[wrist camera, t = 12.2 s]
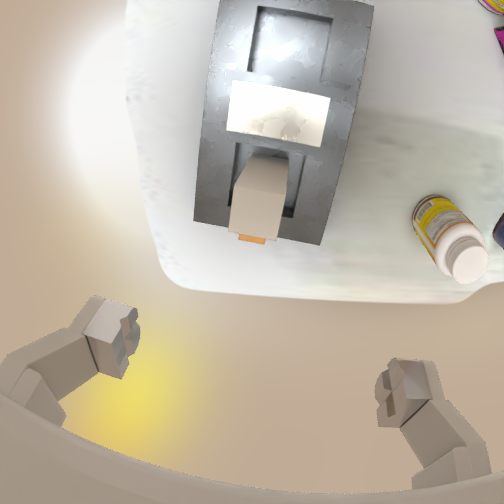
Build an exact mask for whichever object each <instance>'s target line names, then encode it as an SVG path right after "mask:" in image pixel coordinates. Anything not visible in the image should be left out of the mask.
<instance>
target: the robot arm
mask: <svg viewBox="0 0 504 504" xmlns="http://www.w3.org/2000/svg"><path fill="white" fill-rule="evenodd" d="M137 318H138V312H137V309H136V308H134V307H131V306H128V305H124V304H121V303H118V302H115V301H112V300H109V299H105V298H102V297H99V296H96V295H94V296H92V297H90V299H89V300H88V301H87V303H86V304H85V305H84V307H83V308H82V309H81V311H80V312H79V314H78V315H77V316H76V318H75V319H74V320H73V322H72V323H71V325H70V326H69V327H68V329H67V328H62V329H60V330H58V331H56V332H53V333H52V334H49V335H47V336H45V337H43V338H41V339H39V340H37V341H35V342H32V343H30V344H28V345H26V346H24V347H22V348H20V349H18V350H16V351H14V352H12V353H10V354H8V355H7V356H6V358H5V359H4V360H3V362H2V363H1V365H0V504H504V470H503V471H500V472H496V473H493V474H492V472H491V467H490V461H489V457H488V452H487V447H486V443H485V441H484V440H483V439H482V438H481V437H480V436H479V434H478V433H477V432H476V431H475V430H474V428H473V427H472V426H471V425H470V424H469V423H468V422H467V420H466V419H465V418H464V417H463V416H462V415H461V414H460V412H459V411H458V410H457V409H456V408H455V407H454V406H453V404H452V403H451V402H450V401H449V400H445V397H444V394H443V390H442V386H441V382H440V379H439V376H438V372H437V369H436V365H435V363H434V362H433V361H428V360H417V359H405V358H393V359H392V360H391V361H390V362H389V363H388V370H386V371H384V372H382V373H381V374H380V376H379V377H378V379H377V382H376V386H375V398H376V400H377V401H378V403H379V404H380V406H379V407H378V409H377V416H378V426H379V427H394V428H400V430H401V432H402V433H403V435H404V437H405V438H406V440H407V442H408V443H409V445H410V446H411V448H412V449H413V451H414V453H415V454H416V456H417V458H418V459H419V461H420V463H421V464H422V466H423V468H424V469H423V470H421V471H420V472H418V473H416V474H415V475H414V476H413V477H412V490H404V491H394V492H380V493H360V494H324V493H302V492H288V491H279V490H270V489H262V488H255V487H247V486H241V485H235V484H230V483H224V482H219V481H214V480H209V479H205V478H201V477H197V476H192V475H188V474H184V473H180V472H177V471H173V470H170V469H166V468H163V467H159V466H156V465H153V464H150V463H147V462H144V461H141V460H138V459H135V458H132V457H129V456H126V455H123V454H121V453H118V452H115V451H113V450H111V449H108V448H106V447H103V446H101V445H98V444H96V443H93V442H91V441H89V440H87V439H84V438H82V437H80V436H78V435H76V434H73V433H71V432H69V431H67V430H65V429H63V428H61V426H62V424H63V422H64V420H65V418H66V414H65V412H64V410H63V409H62V407H61V406H60V404H59V403H58V401H59V400H60V399H62V398H63V397H65V396H66V395H68V394H69V393H70V392H72V391H73V390H75V389H76V388H78V387H79V386H81V385H82V384H84V383H85V382H86V381H88V380H89V379H91V378H92V377H93V376H95V375H96V374H98V372H101V373H103V374H106V375H109V376H112V377H115V378H119V379H122V377H123V375H124V373H125V371H126V369H127V367H128V365H129V361H128V357H129V356H130V355H132V354H134V353H135V351H136V349H137V346H138V343H139V339H140V326H139V325H138V324H137V322H136V320H137Z"/></svg>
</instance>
